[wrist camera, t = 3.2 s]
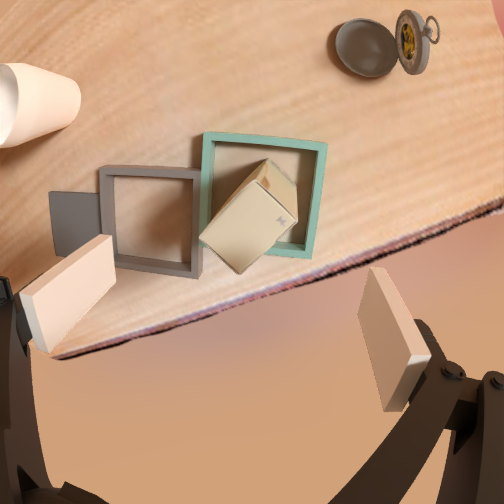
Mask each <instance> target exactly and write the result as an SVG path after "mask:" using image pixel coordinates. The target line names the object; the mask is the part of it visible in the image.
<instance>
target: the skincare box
mask: <svg viewBox="0 0 504 504" xmlns="http://www.w3.org/2000/svg"><path fill="white" fill-rule="evenodd" d="M297 209H298V208H297V189H296V185H295V184H294V182H293V181H292V180H291V179H290V178H289V177H288V176H287V175H286V174H285V173H284V172H283V171H282V170H281V169H280V168H279V167H278V166H277V165H276V164H274V163H273V162H272V161H271V160H270V159H268V158H267V159H266V160H265V161H263V162H262V163H261V164H260V165H259V166H258V167H257V168H256V169H255V170H254V171H253V172H252V173H251V174H250V175H249V176H248V177H247V178H246V179H245V180H244V181H243V182H242V183H241V184H240V186H239V187H238V188H237V189H236V190H235V191H234V192H233V193H232V194H231V196H230V197H229V198H228V199H227V200H226V202H225V203H224V204H223V206H222V207H221V208H220V210H219V211H218V212H217V214H216V215H215V216H214V217H213V219H212V220H211V221H210V223H209V224H208V225H207V227H206V228H205V229H204V230H203V232H202V233H201V234H200V236H199V239H200V240H201V241H202V242H203V243H204V244H205V245H206V246H207V247H208V248H209V249H210V250H211V251H212V252H213V253H214V254H215V255H217V256H218V257H219V258H220V259H221V260H222V261H223V262H224V263H225V264H226V265H227V266H228V267H229V268H231V269H232V270H233V271H234V272H235V273H236V274H238V275H240V274H242V273H243V272H244V271H246V270H247V269H248V268H249V267H250V266H251V265H252V264H253V263H254V262H255V261H257V260H258V259H259V258H260V257H261V256H262V255H263V254H264V253H265V252H266V251H267V250H269V249H270V248H271V247H272V246H273V245H274V244H275V243H276V242H277V241H278V240H279V239H280V238H281V237H282V236H283V235H284V234H286V233H287V232H288V231H289V230H290V229H291V228H292V227H293V226H294V225H295V224H296V223H297V222H298V210H297Z"/></svg>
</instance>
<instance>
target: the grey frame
mask: <svg viewBox="0 0 504 504" xmlns="http://www.w3.org/2000/svg"><path fill="white" fill-rule="evenodd" d="M114 175H133V176H155V177H172V178H188V179H193V200H192V243H191V264H187V263H179V262H172V261H164V260H157V259H149V258H142V257H135V256H127V255H120V254H118V252H117V239H116V224H115V203H114ZM99 180H100V205H101V222H102V234H103V235H112V243H113V255H114V265H115V267H117V268H124V269H130V270H137V271H143V272H150V273H157V274H164V275H171V276H178V277H185V278H192V279H199V277H200V275H201V273H202V266H203V247H201V246H199V215H200V189H201V169H200V168H184V167H164V166H139V165H106V166H102V167H99Z"/></svg>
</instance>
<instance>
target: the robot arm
mask: <svg viewBox="0 0 504 504" xmlns="http://www.w3.org/2000/svg"><path fill="white" fill-rule="evenodd" d="M115 283H116V275H115V265H114V255H113V243H112V235H103V234H99V235H98V236H96V237H95V238H94V239H92V240H91V241H89V242H88V243H86V244H85V245H83V246H82V247H80V248H79V249H77V250H76V251H75V252H73V253H72V254H70V255H69V256H67V257H66V258H65V259H63V260H62V261H60V262H59V263H58V264H56V265H55V266H54V267H52V268H51V269H49V270H48V271H47V272H45V273H43V274H41V275H39V276H38V277H37V278H35V279H34V280H33V281H31V282H30V283H29V284H27V285H26V286H25V287H23V288H22V289H21V290H20V291H18V292H17V293H16V294H14V295H13V294H12V290H11V286H10V282H9V279H8V278H7V277H3V276H0V504H109V503H107V502H106V501H104V500H103V499H101V498H100V497H98V496H97V495H95V494H92V493H90V492H88V491H85V490H83V489H81V488H78V487H76V486H74V485H72V484H70V483H68V482H66V481H65V482H64V484H63V486H62V488H54V487H53V486H52V485H51V483H50V481H49V478H48V475H47V472H46V467H45V463H44V458H43V454H42V449H41V444H40V438H39V433H38V426H37V420H36V413H35V405H34V396H33V386H32V375H31V358H30V348H29V345H28V342H29V341H30V340H31V339H32V338H33V341H34V344H35V346H36V349H38V350H40V351H43V352H46V353H48V354H49V353H50V352H51V351H52V350H53V349H54V348H55V347H56V346H57V344H58V343H59V342H60V341H61V340H62V339H63V338H64V337H65V336H66V334H67V333H68V332H69V331H70V330H71V329H72V328H73V327H74V326H75V325H76V324H77V323H78V321H79V320H80V319H81V318H82V317H83V316H84V315H85V314H86V313H87V312H88V311H89V310H90V309H91V308H92V307H93V306H94V304H95V303H96V302H97V301H98V300H99V299H100V298H101V297H102V296H103V295H104V294H105V293H106V292H107V291H108V290H109V289H110V288H111V287H112V286H113V285H114V284H115ZM358 318H359V321H360V325H361V328H362V332H363V335H364V338H365V342H366V345H367V349H368V353H369V356H370V360H371V363H372V367H373V371H374V375H375V379H376V383H377V387H378V390H379V395H380V399H381V403H382V407H383V411H384V412H398V411H399V412H400V411H402V410H403V409H404V407H405V405H406V404H407V402H408V401H409V404H410V405H409V407H408V408H407V410H406V411H405V412H404V414H403V415H402V417H401V418H400V419H399V421H398V422H397V424H396V425H395V426H394V428H393V429H392V430H391V432H390V433H389V434H388V436H387V437H386V438H385V439H384V441H383V442H382V443H381V445H380V446H379V447H378V448H377V450H376V451H375V452H374V453H373V454H372V456H371V457H370V458H369V459H368V461H367V462H366V463H365V464H364V465H363V466H362V468H361V469H360V470H359V471H358V472H357V473H356V474H355V475H354V477H353V478H352V479H351V480H350V481H349V482H348V483H347V484H346V485H345V486H344V487H343V488H342V490H341V491H340V492H339V493H338V494H337V495H336V496H335V497H334V498H333V499H332V500H331V501H330V502H329V503H328V504H399V502H400V501H401V499H402V498H403V497H404V495H405V494H406V492H407V490H408V489H409V488H410V486H411V485H412V483H413V482H414V480H415V479H416V477H417V475H418V474H419V472H420V470H421V469H422V467H423V465H424V464H425V462H426V460H427V459H428V457H429V455H430V453H431V452H432V450H433V448H434V446H435V444H436V443H437V441H438V439H439V437H440V435H441V433H442V431H443V429H449V430H452V431H451V437H450V443H449V449H448V454H447V459H446V464H445V469H444V473H443V478H442V482H441V486H440V490H439V494H438V498H437V501H436V504H504V375H503V374H502V373H499V372H497V371H489V372H487V373H486V374H485V375H484V377H483V379H482V380H476V379H472V378H467V377H466V373H465V371H464V370H463V369H462V367H461V366H459V365H458V364H456V363H454V362H451V361H447V359H446V357H445V355H444V353H443V352H442V350H441V348H440V346H439V344H438V343H437V342H436V339H435V337H434V336H433V333H432V332H431V330H430V328H429V327H428V326H427V325H426V324H425V323H424V322H423V321H422V320H419V319H413V318H412V316H411V314H410V313H409V311H408V309H407V307H406V305H405V303H404V302H403V300H402V298H401V296H400V295H399V293H398V291H397V289H396V287H395V286H394V284H393V282H392V280H391V279H390V277H389V275H388V273H387V272H386V270H385V268H379V267H370V269H369V273H368V277H367V281H366V285H365V289H364V292H363V297H362V300H361V304H360V307H359V311H358Z"/></svg>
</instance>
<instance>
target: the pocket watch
mask: <svg viewBox="0 0 504 504" xmlns="http://www.w3.org/2000/svg"><path fill="white" fill-rule="evenodd" d="M430 19H433V20H434V21H435V23H436V25H437V28H438V37H437V39H436V41H433V40H432V39H431V38H430V37H431V36H432V32H433V30H432V28H431V27H429V26H428V23H429V20H430ZM409 38H410V39H409ZM439 39H440V28H439V24H438V22H437V20H436V19H435V18H434V17H433V16H429V17H428V18H427V20H426V24H425V22H424V20H423V18H422V17H421V16H420V15H419V14H418V13H417V12H415V11H412V10H404V11H402V12H401V14H400V15H399V17H398V20H397V23H396V31H395V38H394V37H393V35H392V34H391V33H390V31H389V30H388V29H387V28H386V27H384V26H383V25H381V24H380V23H378V22H375V21H373V20H370V19H363V18H359V19H353V20H350V21H348V22H346V23H345V24H344V25H343V26H341V27H340V29H339V31H338V33H337V35H336V40H335V48H336V51H337V54H338V57H339V58H340V60H341V61H342V62H343V64H344V65H345V66H346V67H347V68H348V69H350V70H351V71H353V72H354V73H356V74H359V75H361V76H365V77H379V76H382V75H385V74H387V73H388V72H390V71H391V70H392V68H393V67H394V66H395V64H396V62H397V59H398V58H399V61H400V63H401V65H402V67H403V68H404V70H405V71H406V72H407V73H408V74H410V75H417V74H420V73H422V72H423V71H424V70H425V68H426V66H427V63H428V59H429V51H430V44H429V40H430V42H431V43H433V44H437V43H438V41H439ZM413 48H414V49H413ZM413 50H414V54H413ZM411 52H412V53H411Z"/></svg>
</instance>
